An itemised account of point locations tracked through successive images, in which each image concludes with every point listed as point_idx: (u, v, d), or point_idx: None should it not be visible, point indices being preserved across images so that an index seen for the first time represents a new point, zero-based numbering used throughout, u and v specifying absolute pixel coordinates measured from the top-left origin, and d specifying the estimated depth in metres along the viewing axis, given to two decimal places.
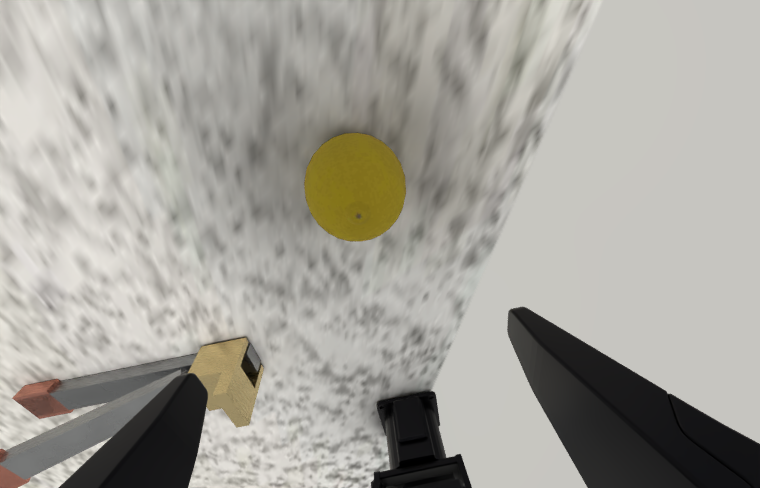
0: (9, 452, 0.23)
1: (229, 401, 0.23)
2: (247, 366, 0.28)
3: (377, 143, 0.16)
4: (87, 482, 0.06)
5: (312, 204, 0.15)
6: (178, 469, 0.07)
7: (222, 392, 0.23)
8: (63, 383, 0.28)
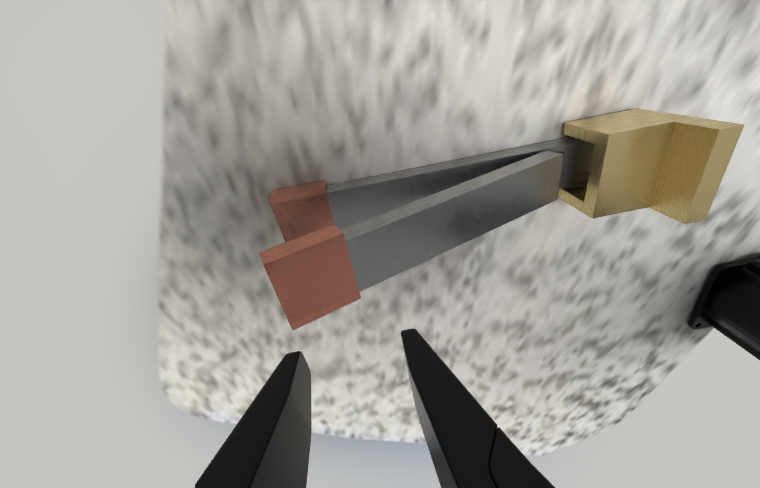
0: (348, 231, 0.12)
1: (729, 150, 0.13)
2: None
3: None
4: (243, 451, 0.06)
5: None
6: (302, 444, 0.07)
7: (734, 125, 0.12)
8: (337, 185, 0.17)
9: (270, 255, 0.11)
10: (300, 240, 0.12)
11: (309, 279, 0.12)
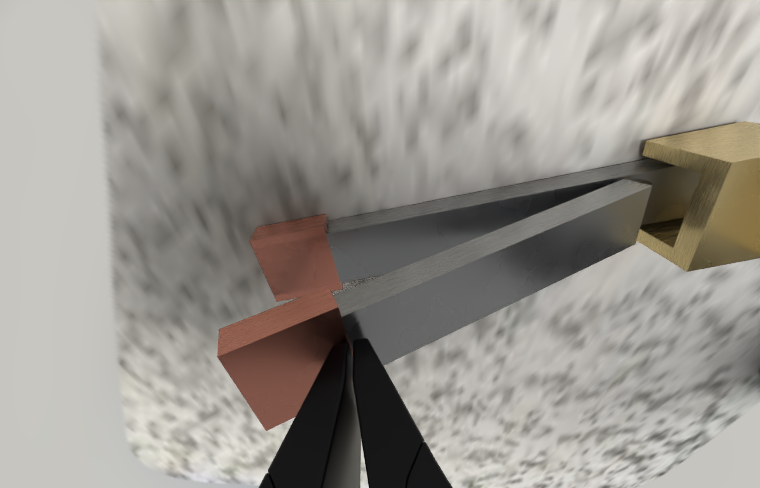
0: (347, 298, 0.09)
1: None
2: None
3: None
4: (311, 437, 0.06)
5: None
6: (356, 434, 0.07)
7: None
8: (341, 221, 0.13)
9: (232, 338, 0.08)
10: (278, 312, 0.08)
11: (288, 368, 0.08)
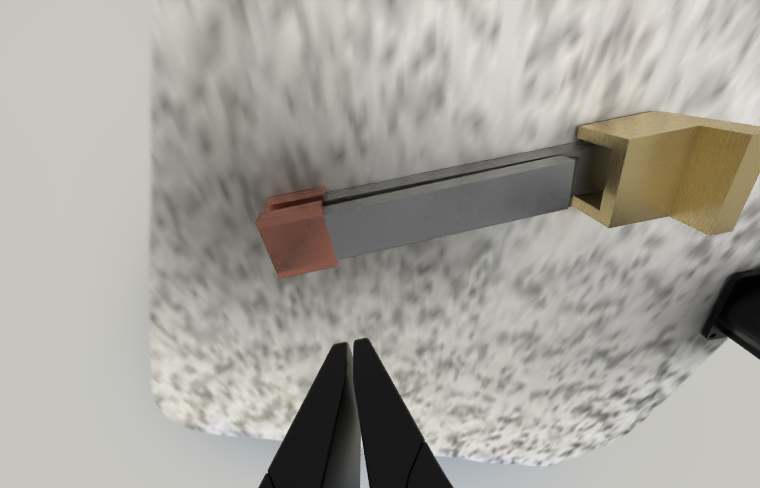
0: (331, 208, 0.15)
1: None
2: None
3: None
4: (311, 438, 0.06)
5: None
6: (356, 434, 0.07)
7: None
8: (337, 192, 0.16)
9: (264, 216, 0.14)
10: (290, 208, 0.15)
11: (292, 241, 0.15)
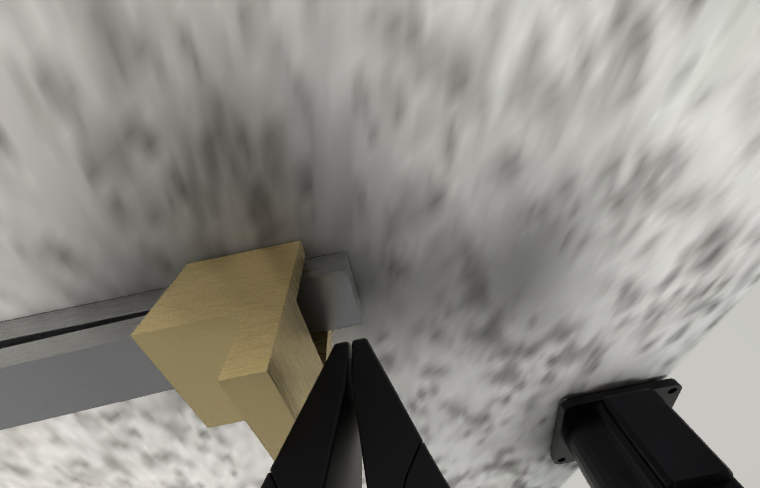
0: None
1: (275, 403, 0.07)
2: (340, 308, 0.11)
3: None
4: (313, 437, 0.06)
5: None
6: (358, 433, 0.07)
7: (253, 369, 0.06)
8: None
9: None
10: None
11: None
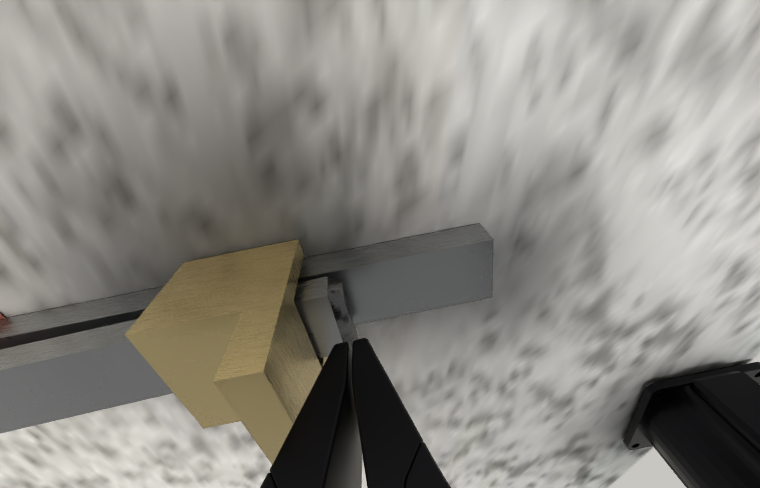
0: None
1: (272, 403, 0.07)
2: (476, 280, 0.11)
3: None
4: (313, 437, 0.06)
5: None
6: (357, 433, 0.07)
7: (249, 370, 0.06)
8: (13, 321, 0.11)
9: None
10: None
11: None
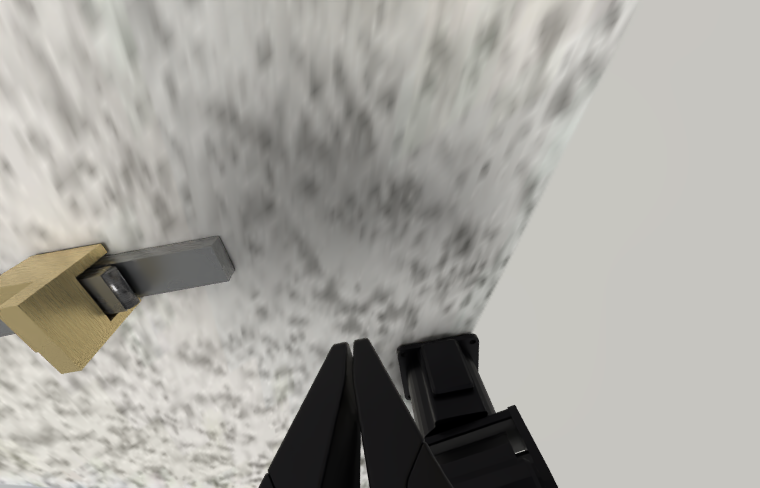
0: None
1: (30, 323, 0.14)
2: (213, 270, 0.18)
3: None
4: (311, 437, 0.06)
5: None
6: (356, 434, 0.07)
7: (12, 305, 0.13)
8: None
9: None
10: None
11: None
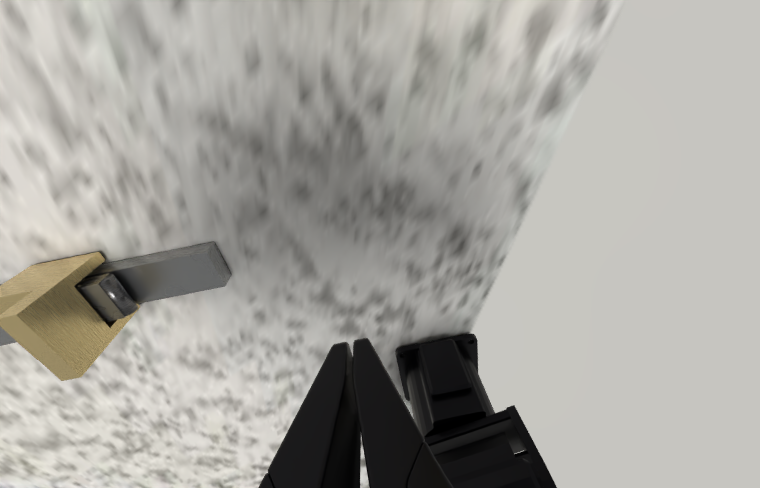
0: None
1: (29, 332, 0.14)
2: (209, 275, 0.18)
3: None
4: (311, 437, 0.06)
5: None
6: (356, 434, 0.07)
7: (11, 314, 0.14)
8: None
9: None
10: None
11: None
